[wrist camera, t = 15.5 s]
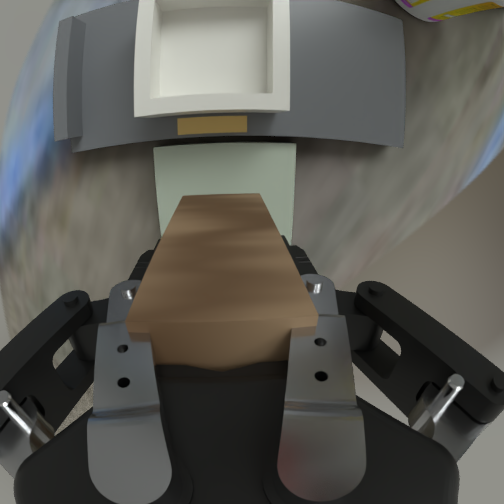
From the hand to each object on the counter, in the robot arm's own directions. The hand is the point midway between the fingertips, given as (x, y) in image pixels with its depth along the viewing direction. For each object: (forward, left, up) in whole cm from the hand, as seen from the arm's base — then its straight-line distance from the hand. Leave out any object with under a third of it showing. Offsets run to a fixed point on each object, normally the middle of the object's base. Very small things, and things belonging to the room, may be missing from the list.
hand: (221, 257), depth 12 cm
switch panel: (-1, -10, -8) cm, 13 cm away
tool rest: (0, 0, -8) cm, 8 cm away
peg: (0, 0, -3) cm, 3 cm away
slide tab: (0, -10, -6) cm, 11 cm away
